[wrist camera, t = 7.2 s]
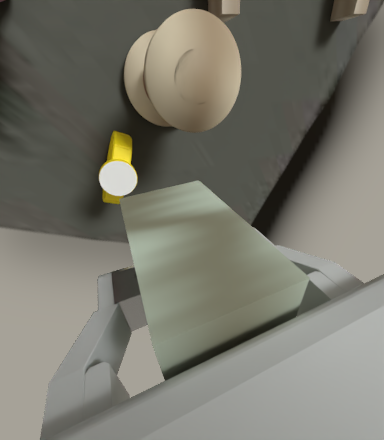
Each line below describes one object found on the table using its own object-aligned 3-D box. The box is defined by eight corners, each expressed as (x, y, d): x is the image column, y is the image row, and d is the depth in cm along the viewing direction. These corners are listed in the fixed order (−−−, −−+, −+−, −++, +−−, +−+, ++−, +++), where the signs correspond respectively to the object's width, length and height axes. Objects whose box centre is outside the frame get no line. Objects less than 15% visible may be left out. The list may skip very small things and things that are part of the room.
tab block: (141, 273, 12) (179, 421, 7) (119, 198, 10) (152, 346, 4) (203, 252, 13) (278, 366, 8) (198, 180, 11) (309, 277, 5)
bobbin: (134, 130, 20) (150, 148, 13) (113, 32, 16) (121, -7, 10) (202, 120, 22) (244, 132, 15) (198, 30, 18) (252, -4, 11)
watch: (123, 191, 22) (129, 218, 18) (94, 186, 21) (92, 213, 16) (135, 134, 20) (145, 146, 15) (104, 124, 19) (105, 135, 14)
